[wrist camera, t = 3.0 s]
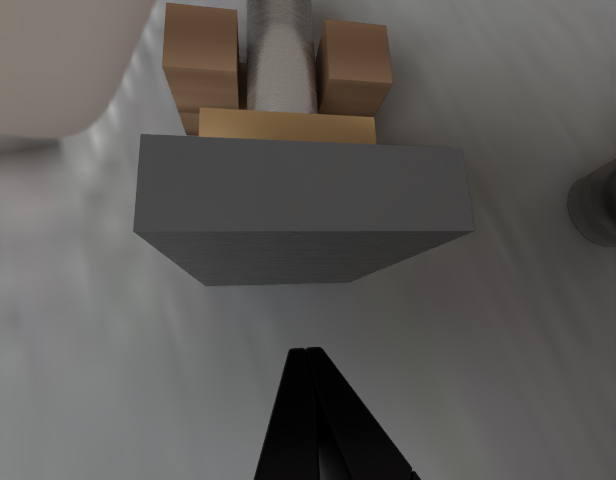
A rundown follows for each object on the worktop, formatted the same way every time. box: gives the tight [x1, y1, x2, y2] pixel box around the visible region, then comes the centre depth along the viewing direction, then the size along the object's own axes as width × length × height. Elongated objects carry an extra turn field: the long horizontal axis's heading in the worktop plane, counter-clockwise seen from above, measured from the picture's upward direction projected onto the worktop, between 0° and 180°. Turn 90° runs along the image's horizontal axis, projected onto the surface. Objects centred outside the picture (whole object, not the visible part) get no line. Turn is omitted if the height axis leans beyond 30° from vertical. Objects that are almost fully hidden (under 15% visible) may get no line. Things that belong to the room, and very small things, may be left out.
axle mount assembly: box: [133, 0, 475, 286], centre depth 13 cm, size 14×7×10 cm, turn 2°
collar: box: [199, 107, 377, 144], centre depth 14 cm, size 2×6×6 cm, turn 92°
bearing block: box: [162, 3, 393, 136], centre depth 16 cm, size 3×9×5 cm, turn 92°
